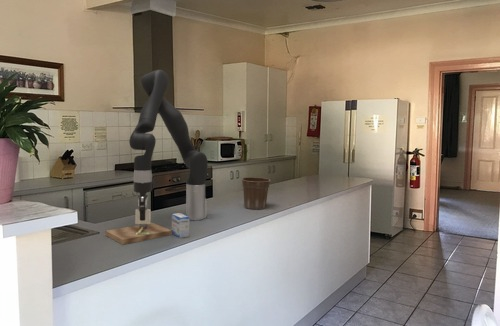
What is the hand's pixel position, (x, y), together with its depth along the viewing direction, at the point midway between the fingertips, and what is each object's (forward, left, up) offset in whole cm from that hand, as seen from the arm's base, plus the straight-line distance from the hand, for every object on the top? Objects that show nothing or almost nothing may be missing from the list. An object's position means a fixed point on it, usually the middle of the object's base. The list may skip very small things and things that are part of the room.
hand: (143, 217), depth 178 cm
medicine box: (-11, +12, -7) cm, 18 cm away
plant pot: (-74, -8, -7) cm, 75 cm away
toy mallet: (+3, +3, -4) cm, 6 cm away
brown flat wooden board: (+3, +2, -7) cm, 8 cm away
